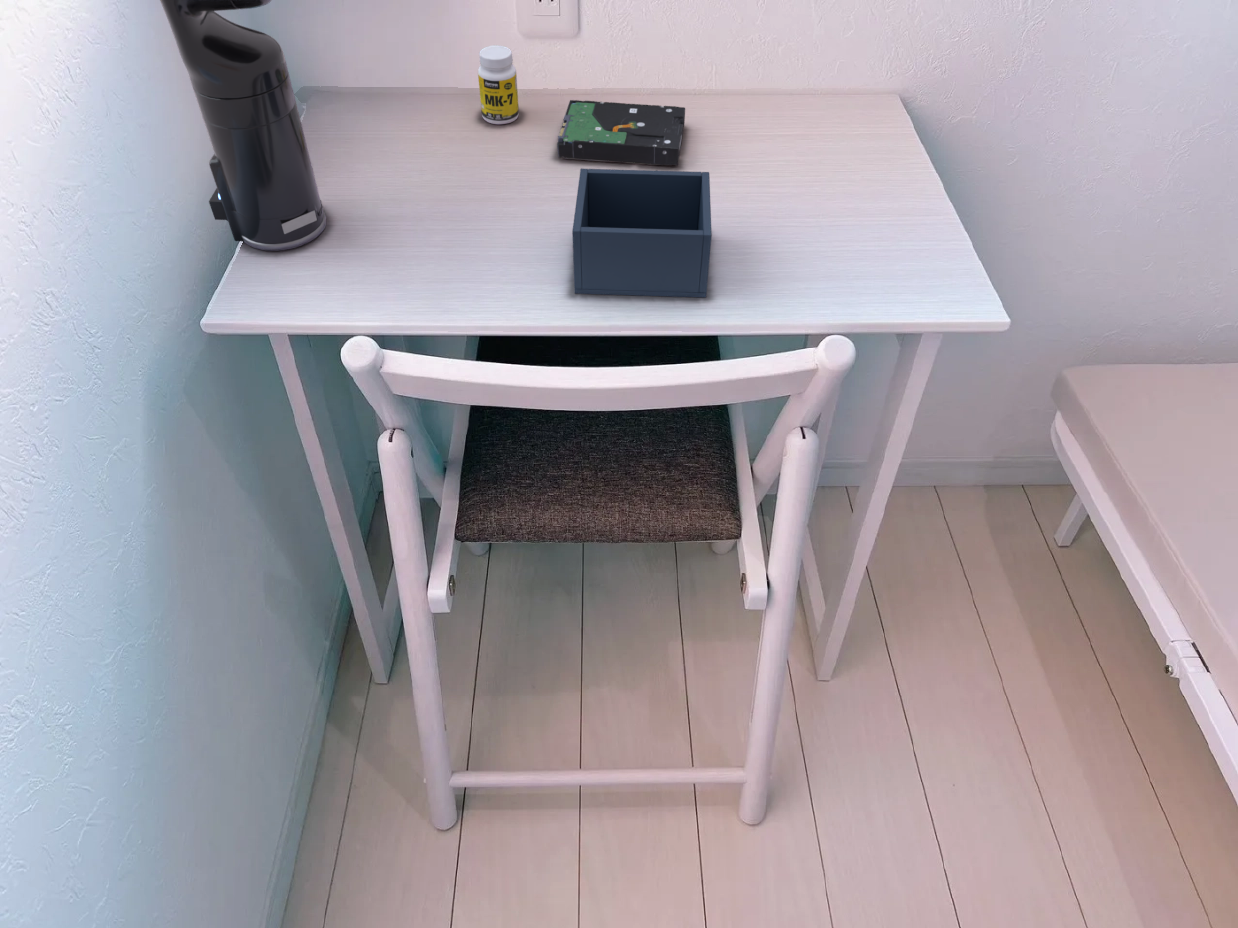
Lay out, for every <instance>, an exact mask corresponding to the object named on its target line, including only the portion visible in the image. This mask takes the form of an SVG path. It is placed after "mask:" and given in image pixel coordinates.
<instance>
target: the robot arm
mask: <svg viewBox="0 0 1238 928" xmlns="http://www.w3.org/2000/svg"><path fill="white" fill-rule="evenodd" d="M272 1H273V0H159V2H160V4H161V7H162V10H163V12H164V14H165V17H166V20H167V22H168V24H169V28H170V30H171V33H172V35H173V39H174V42H175V45H176V47H177V50H178V53H179V56H180V59H181V62H182V64H183V66H184V68H185V70H186V72H187V75H188V78H189V81H190V84H191V88H192V90H193V93H194V97H195V99H196V102H197V105H198V108H199V112H200V114H201V117H202V121H203V123H204V127H205V129H206V132H207V136H208V139H209V142H210V145H211V148H212V151H213V154H212V156H211V158H210V160H209V161H208V163H209V164H208V165H209V169H210V171H211V172H210V173H211V174H212V178H213V181H214V183H215V186H216V188H215V190H214V191H213V193H212V195H211V197H210V198H209V200H208V204H209V206H210V210H211V212H212V215H213V217H214V220H215V221H227V223H228V225H229V228H230V231H231V234H232V237H233V240H234V241H235V242H243V243H244V244H246V245H247V246H250V247H252V248H254V249H256V250H262V251H271V252H272V251H285V250H291V249H295V248H299V247H301V246H304V245H306V244H308V243H310V242H312V241H313V240H315V239H317V237H319V236H320V235H322V233H323V232H324V230H325V228H326V225H327V217H326V213H325V210H324V208H323V202H322V199H321V197H320V192H319V188H318V185H317V180H316V177H315V172H314V168H313V165H312V160H311V157H310V152H309V149H308V144H307V141H306V136H305V131H304V129H303V124H302V120H301V117H300V112H299V108H298V104H297V100H296V97H295V91H294V88H293V85H292V80H291V76H290V72H289V68H288V64H287V60H286V56H285V53H284V50H283V48H282V46H281V44H280V43H279V42H278V41H277V39H275V38H274V37H273V36H271V35H269V34H268V33H265V32H263V31H260V30H257V29H254V28H252V27H251V28H250V27H247V26H244V25H242V24H239V23H237V22H234V21H232V20H229V19H227V18H225V17H224V16H222V15H220V14H219V13H218V12H219V11H221V12H222V11H236V10H237V11H238V10H252V9H256V8H261V7H264V6H267V5H269V4H270V3H271V2H272Z"/></svg>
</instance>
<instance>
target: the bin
mask: <svg viewBox="0 0 1238 928" xmlns="http://www.w3.org/2000/svg"><path fill="white" fill-rule="evenodd" d="M577 185H578V186H577V193H576V199H575V200H576V201H575V209H574V215H573V223H572V258H573V259H572V261H573V263H572V264H573V288H574V289H573V290H574V294H575V295H577V294H578V295H579V294H581V295H607V296H608V295H609V296H610V295H613V296H644V297H645V296H646V297H675V298H676V297H677V298H707V294H708V293H707V292H708V281H709V273H710V272H709V270H710V260H711V259H710V258H711V248H712V238H713V237H712V235H713V232H712V209H711V205H712V204H711V181H710V172H709V171H687V170H686V171H684V170H683V171H682V170H649V169H646V170H645V169H611V168H610V169H609V168H580V169H579V178H578V184H577Z"/></svg>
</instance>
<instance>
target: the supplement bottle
mask: <svg viewBox="0 0 1238 928" xmlns="http://www.w3.org/2000/svg"><path fill="white" fill-rule="evenodd" d="M478 53H479V55H478V56H479V67H478V69H477V77H478V87H479V99H480V100H479V101H480V107H481V108H480V109H481V110H480V111H481V116H482V118H483V120H484V121H485V122H487V123H489V124H492V125H506V124H510V123H513V122H515V121H516V120H517V119H518V118H519V114H520V109H519V108H520V107H519V94H518V91H519V90H518V78H517V69H516V66H515V65H514V64H513V63H514V62H513V61H514V59H513V52H512V50H511V49H510V48H509V47H507V46H505V45H497V44H496V45H495V44H493V45H488V46H485V47H483V48H482V49H480V50H479V52H478Z"/></svg>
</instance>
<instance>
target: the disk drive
mask: <svg viewBox="0 0 1238 928" xmlns="http://www.w3.org/2000/svg"><path fill="white" fill-rule="evenodd" d="M562 120H563V123H562V124H561V128H560V131H559V134H558V135H557V143H556V150H557V157H558V158H563V159H568V160H580V161H581V160H585V161H596V162H613V163H627V164H639V165H653V166H672V165H673V166H678V165H679V160H680V154H681V148H682V142H683V137H684V128H685V121H686V107H684V106H683V107H682V106H676V105H659V104H642V103H641V104H640V103H625V102H614V101H613V102H612V101H611V102H609V101H597V100H579V99H570V100H569V101H568V105H567V108H566V111H565V114H564V116H563V118H562Z"/></svg>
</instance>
